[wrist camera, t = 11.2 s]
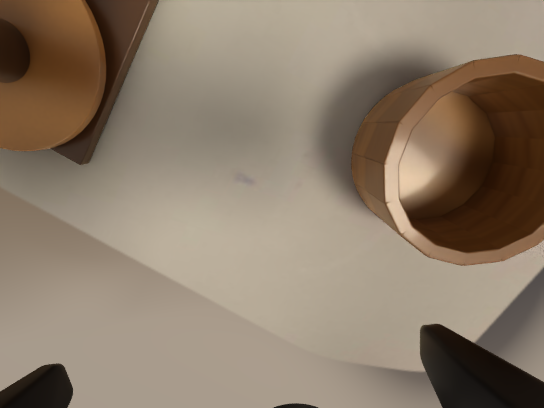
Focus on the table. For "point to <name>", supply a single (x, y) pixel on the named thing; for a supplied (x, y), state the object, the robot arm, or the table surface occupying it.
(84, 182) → the table surface
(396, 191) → the wooden bowl
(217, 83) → the table surface
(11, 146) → the lid
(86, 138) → the board
